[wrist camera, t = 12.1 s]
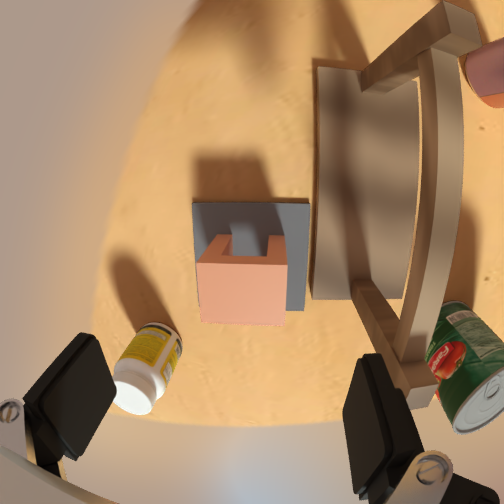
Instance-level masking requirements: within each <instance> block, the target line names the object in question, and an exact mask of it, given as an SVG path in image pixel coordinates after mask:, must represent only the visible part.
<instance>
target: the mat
mask: <svg viewBox="0 0 504 504" xmlns="http://www.w3.org/2000/svg"><path fill="white" fill-rule="evenodd" d="M192 215H193V233H194V249H195V263H196V262H197V261H198V260H199V258H200V257H201V255H202V254H203V253H204V251H205V250H206V249H207V247H208V246H209V245H210V243H211V242H212V241H213V239H214V238H215V237H216V235H217V234H231V235H233V256H267V250H268V239H269V235H285V244H286V254H287V264H288V269H287V291H286V310H285V311H304V304H305V291H306V278H307V262H308V245H309V225H310V203H276V202H197V203H192ZM196 276H197V269H196ZM197 288H198V282H197ZM198 299H199V294H198ZM199 307H200V305H199Z"/></svg>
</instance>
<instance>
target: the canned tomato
mask: <svg viewBox="0 0 504 504" xmlns="http://www.w3.org/2000/svg"><path fill="white" fill-rule="evenodd" d="M424 359H425V361H426V362H427V364H428V366H429V367H430V369H431V371H432V372H433V374H434V376H435V378H436V379H437V381H438V383H439V385H438V387H437V389H436V392H435V394H436V395H437V398H438V400H439V401H440V403H441V405H442V407H443V409H444V411H445V412H446V414H447V417H448V419H449V420H450V422H451V424H452V428H453V430H454V432H455V433H457V434H461V435H462V434H468V433H472V432H475V431H477V430H479V429H481V428H483V427H484V426H486V425H488V424H489V423H490V422H492V421H493V420H494V419H496V418H497V417H498V416H499V415H500V414H501V413H502V412H504V342H503V341H502V340H501V339H500V338H499V337H498V336H497V335H496V334H495V333H494V332H493V331H492V330H491V329H490V328H489V327H488V325H486V324H485V323H484V321H482V320H481V319H480V318H479V317H478V316H477V315H476V314H475V313H474V312H473V311H472V310H471V309H470V308H469V307H468V306H467V305H466V304H465V303H463V302H461V301H450V302H446V303H444V304H442V306H441V309H440V313H439V316H438V320H437V323H436V326H435V329H434V332H433V335H432V338H431V341H430V344H429V347H428V350H427V353H426V355H425V358H424Z"/></svg>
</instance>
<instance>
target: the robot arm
mask: <svg viewBox="0 0 504 504" xmlns="http://www.w3.org/2000/svg"><path fill="white" fill-rule="evenodd" d="M116 394H117V388H116V385H115V383H114V381H113V378H112V376H111V373H110V370H109V368H108V365H107V363H106V360H105V357H104V354H103V352H102V349H101V346H100V343H99V341H98V340H97V339H96V337H95V336H94V335H92V334H87V333H82V332H81V333H79V334H78V335H77V336H76V337H75V338H74V339H73V340H72V341H71V342H70V344H69V345H68V346H67V347H66V348H65V349H64V350H63V351H62V353H61V354H60V355H59V356H58V357H57V358H56V359H55V360H54V362H53V363H52V364H51V365H50V366H49V367H48V368H47V369H46V371H45V372H44V373H43V374H42V375H41V376H40V378H39V379H38V380H37V381H36V383H35V384H34V385H33V386H32V387H31V388H30V390H29V391H28V392H27V393H26V394H25V396H24V397H23V400H24V402H25V404H24V405H23V404H22V403H21V402H20V401H19V400H17V399H7V400H4V401H3V402H1V403H0V504H119V503H116V502H113V501H110V500H108V499H105V498H103V497H100V496H98V495H95V494H93V493H91V492H88V491H86V490H84V489H82V488H80V487H77V486H75V485H73V484H71V483H69V482H68V481H67V477H66V474H65V470H64V466H63V462H62V457H63V455H65V456H66V457H68V458H70V459H72V460H74V461H77V459H78V457H79V456H82V455H83V453H84V452H85V449H86V448H87V446H88V444H89V442H90V440H91V439H92V437H93V435H94V433H95V431H96V430H97V428H98V426H99V424H100V423H101V421H102V419H103V417H104V416H105V414H106V412H107V410H108V409H109V407H110V405H111V403H112V402H113V400H114V398H115V397H116ZM342 414H343V422H344V428H345V435H346V440H347V448H348V454H349V462H350V469H351V476H352V484H353V491H354V494H359V500H366V499H368V501H369V504H500V500H499V497H498V494H497V493H496V492H495V491H494V490H492V489H491V488H489V487H486V486H483V485H481V484H478V483H476V482H473V481H471V480H469V479H466V478H464V477H462V476H459V475H457V474H455V473H453V464H452V462H451V460H450V459H449V458H448V457H447V456H446V455H445V454H443V453H441V452H439V451H426V452H425V451H424V448H423V445H422V442H421V439H420V437H419V434H418V431H417V428H416V425H415V422H414V420H413V417H412V414H411V412H410V409H409V406H408V403H407V401H406V398H405V396H404V393H403V391H402V390H401V389H400V388H395V387H394V385H393V382H392V379H391V377H390V374H389V372H388V369H387V367H386V364H385V362H384V359H383V357H382V355H381V354H380V353H372V354H364V355H363V357H362V358H359V359H358V360H357V363H356V366H355V370H354V374H353V377H352V381H351V384H350V388H349V391H348V394H347V397H346V401H345V404H344V407H343V413H342Z"/></svg>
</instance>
